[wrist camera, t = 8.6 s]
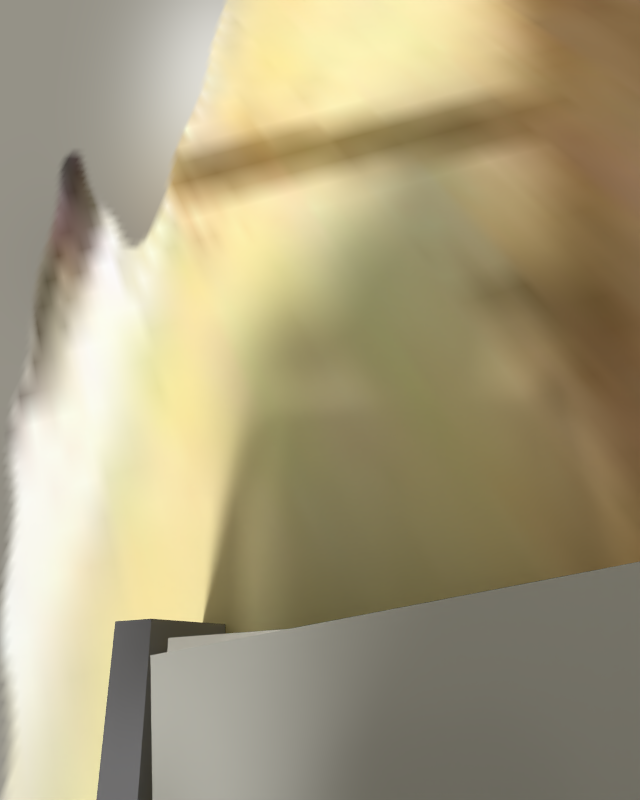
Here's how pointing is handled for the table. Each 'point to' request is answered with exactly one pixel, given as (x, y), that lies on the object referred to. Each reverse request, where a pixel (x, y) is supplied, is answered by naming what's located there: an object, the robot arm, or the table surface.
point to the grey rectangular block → (415, 702)
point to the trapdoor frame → (135, 704)
